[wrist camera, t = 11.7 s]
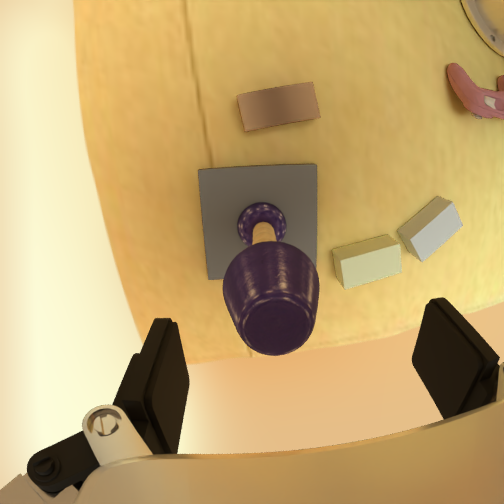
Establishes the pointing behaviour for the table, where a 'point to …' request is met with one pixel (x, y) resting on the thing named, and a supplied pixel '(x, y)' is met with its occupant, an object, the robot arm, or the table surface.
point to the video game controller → (477, 94)
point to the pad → (247, 193)
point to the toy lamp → (270, 285)
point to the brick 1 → (278, 106)
